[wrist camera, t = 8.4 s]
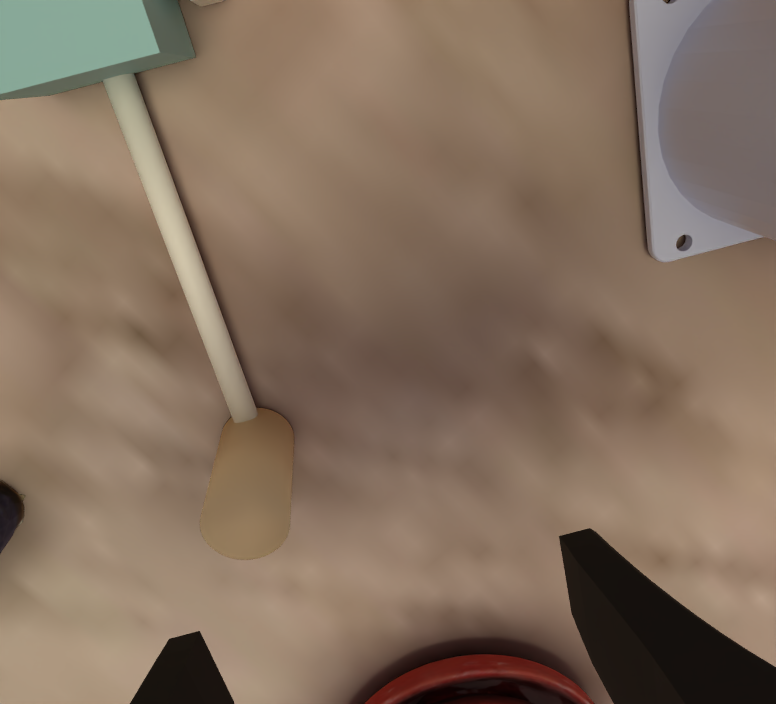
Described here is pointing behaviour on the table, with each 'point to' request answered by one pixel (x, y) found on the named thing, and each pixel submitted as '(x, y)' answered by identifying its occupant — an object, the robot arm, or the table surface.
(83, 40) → the toy mallet
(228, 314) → the table surface
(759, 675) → the robot arm
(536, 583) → the table surface
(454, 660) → the plant pot
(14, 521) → the flask
